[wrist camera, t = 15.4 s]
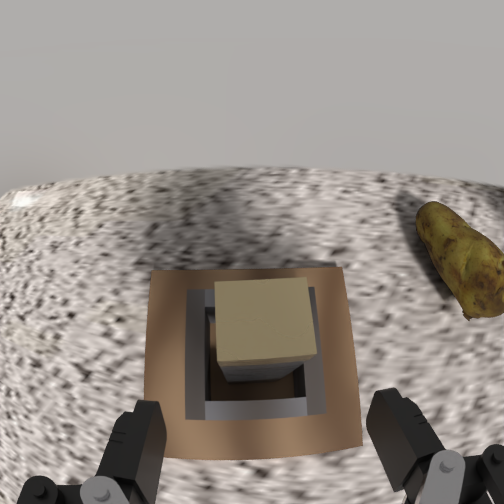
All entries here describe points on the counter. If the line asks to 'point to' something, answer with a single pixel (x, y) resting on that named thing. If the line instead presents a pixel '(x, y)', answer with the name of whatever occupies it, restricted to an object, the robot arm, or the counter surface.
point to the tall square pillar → (263, 328)
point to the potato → (463, 260)
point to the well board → (253, 394)
